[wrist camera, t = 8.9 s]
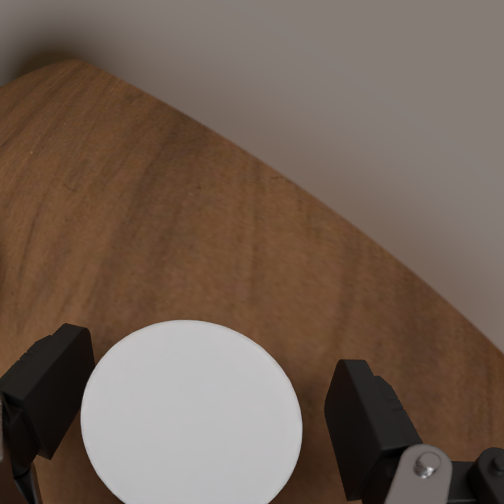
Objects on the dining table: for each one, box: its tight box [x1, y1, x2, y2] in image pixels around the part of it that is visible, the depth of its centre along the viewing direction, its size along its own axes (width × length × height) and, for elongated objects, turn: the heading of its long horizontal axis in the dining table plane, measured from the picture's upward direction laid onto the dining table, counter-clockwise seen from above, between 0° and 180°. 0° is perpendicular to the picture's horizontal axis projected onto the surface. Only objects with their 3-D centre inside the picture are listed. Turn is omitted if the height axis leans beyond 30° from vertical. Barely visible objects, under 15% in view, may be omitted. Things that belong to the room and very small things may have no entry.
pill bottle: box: [81, 320, 302, 504], centre depth 8 cm, size 5×5×8 cm
